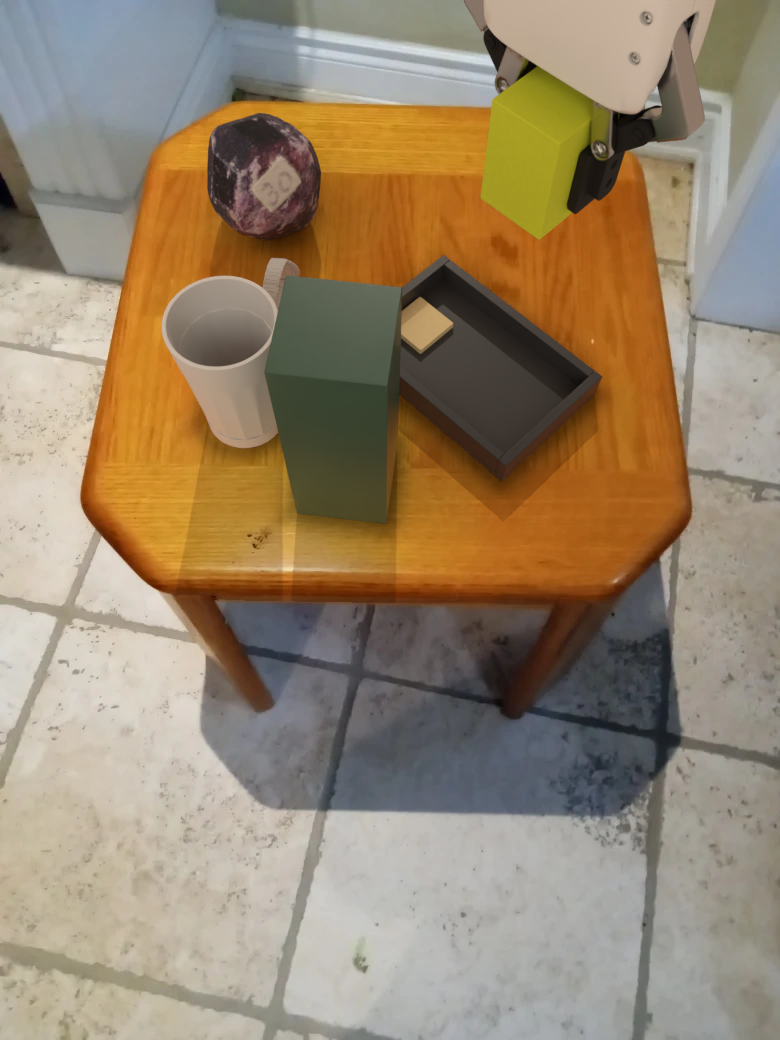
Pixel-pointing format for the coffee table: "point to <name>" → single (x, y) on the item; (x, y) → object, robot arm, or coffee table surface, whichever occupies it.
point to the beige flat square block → (423, 325)
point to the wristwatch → (278, 277)
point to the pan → (489, 372)
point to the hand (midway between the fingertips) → (552, 172)
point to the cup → (225, 354)
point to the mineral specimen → (263, 176)
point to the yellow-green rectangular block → (535, 150)
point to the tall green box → (337, 394)
